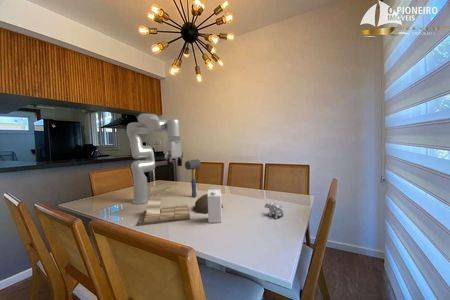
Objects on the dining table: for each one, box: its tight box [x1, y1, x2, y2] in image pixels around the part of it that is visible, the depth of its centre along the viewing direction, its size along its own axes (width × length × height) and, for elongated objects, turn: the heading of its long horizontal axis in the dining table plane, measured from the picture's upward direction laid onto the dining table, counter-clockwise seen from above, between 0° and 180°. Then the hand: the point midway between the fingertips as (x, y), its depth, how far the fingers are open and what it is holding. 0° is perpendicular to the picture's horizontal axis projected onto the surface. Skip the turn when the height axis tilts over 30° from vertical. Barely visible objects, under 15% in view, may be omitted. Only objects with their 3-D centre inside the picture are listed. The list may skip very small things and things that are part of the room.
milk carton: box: [207, 186, 223, 224], centre depth 118 cm, size 7×7×19 cm
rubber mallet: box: [184, 159, 202, 198], centre depth 166 cm, size 12×8×30 cm, turn 143°
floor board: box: [137, 204, 191, 227], centre depth 127 cm, size 20×28×3 cm
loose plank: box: [146, 197, 162, 216], centre depth 127 cm, size 13×8×2 cm
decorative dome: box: [193, 193, 224, 215], centre depth 138 cm, size 19×20×10 cm
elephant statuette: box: [264, 201, 285, 220], centre depth 123 cm, size 9×12×8 cm
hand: (175, 167), depth 129 cm, fingers open, 9 cm apart
